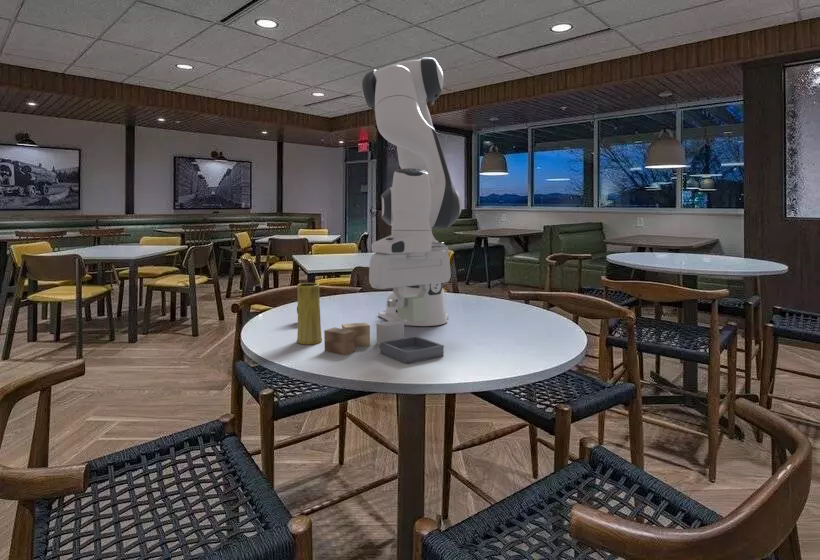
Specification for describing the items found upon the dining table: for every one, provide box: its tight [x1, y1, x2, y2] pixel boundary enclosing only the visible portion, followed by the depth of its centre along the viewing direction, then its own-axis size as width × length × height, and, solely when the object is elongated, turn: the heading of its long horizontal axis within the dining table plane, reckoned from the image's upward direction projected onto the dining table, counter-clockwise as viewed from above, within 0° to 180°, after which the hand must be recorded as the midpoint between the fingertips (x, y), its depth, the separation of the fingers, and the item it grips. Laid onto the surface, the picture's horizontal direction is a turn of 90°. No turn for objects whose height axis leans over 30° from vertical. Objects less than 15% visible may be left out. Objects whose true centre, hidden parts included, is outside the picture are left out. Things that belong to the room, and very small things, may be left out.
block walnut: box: [323, 327, 355, 356], centre depth 119 cm, size 6×4×5 cm, turn 57°
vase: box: [296, 282, 323, 346], centre depth 127 cm, size 6×6×14 cm
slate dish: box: [379, 335, 445, 365], centre depth 117 cm, size 10×10×2 cm
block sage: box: [397, 294, 426, 321], centre depth 116 cm, size 6×4×5 cm, turn 36°
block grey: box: [376, 320, 405, 345], centre depth 127 cm, size 6×4×5 cm, turn 136°
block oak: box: [341, 322, 371, 348], centre depth 125 cm, size 6×4×5 cm, turn 111°
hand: (411, 305), depth 116 cm, fingers closed on block sage, 3 cm apart
